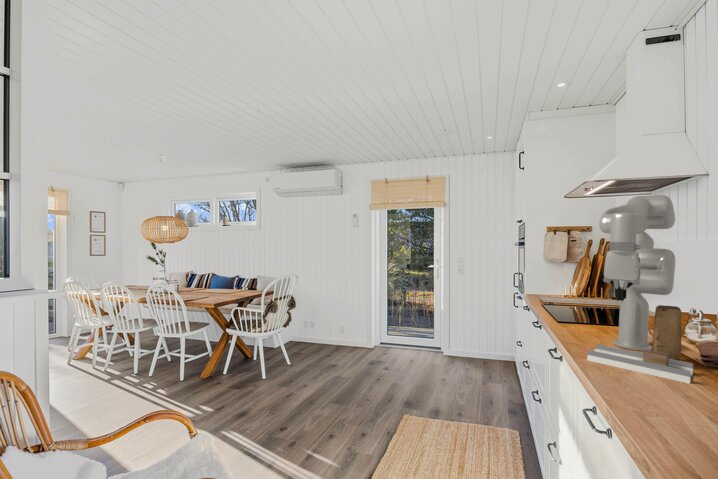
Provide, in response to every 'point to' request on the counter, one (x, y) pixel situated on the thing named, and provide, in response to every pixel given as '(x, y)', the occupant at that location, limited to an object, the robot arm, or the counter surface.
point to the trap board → (641, 363)
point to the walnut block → (656, 357)
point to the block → (667, 331)
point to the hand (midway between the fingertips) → (620, 300)
